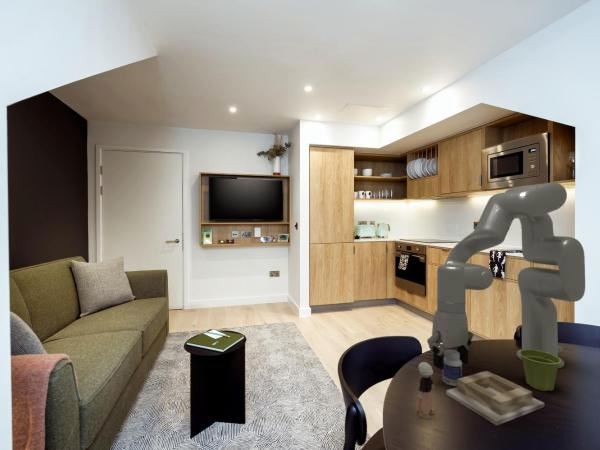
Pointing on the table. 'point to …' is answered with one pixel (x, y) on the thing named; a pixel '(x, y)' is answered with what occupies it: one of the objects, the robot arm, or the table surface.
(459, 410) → the table surface
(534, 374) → the plant pot
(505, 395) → the frame
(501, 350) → the table surface
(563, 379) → the table surface
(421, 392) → the grandmother figurine
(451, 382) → the pill bottle
